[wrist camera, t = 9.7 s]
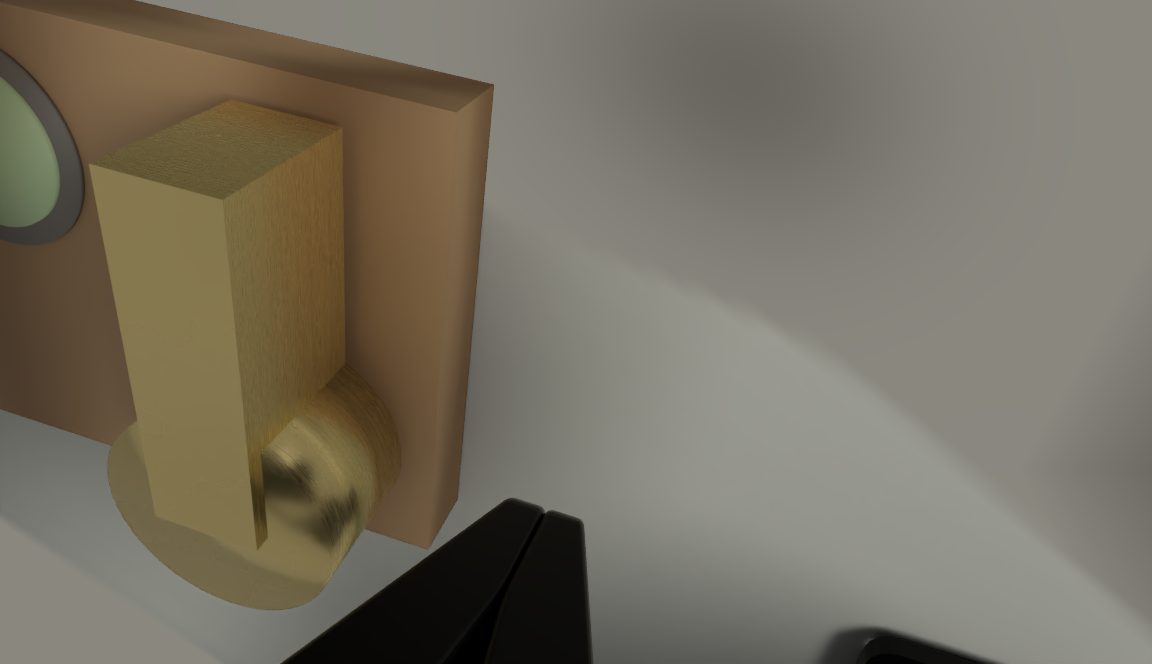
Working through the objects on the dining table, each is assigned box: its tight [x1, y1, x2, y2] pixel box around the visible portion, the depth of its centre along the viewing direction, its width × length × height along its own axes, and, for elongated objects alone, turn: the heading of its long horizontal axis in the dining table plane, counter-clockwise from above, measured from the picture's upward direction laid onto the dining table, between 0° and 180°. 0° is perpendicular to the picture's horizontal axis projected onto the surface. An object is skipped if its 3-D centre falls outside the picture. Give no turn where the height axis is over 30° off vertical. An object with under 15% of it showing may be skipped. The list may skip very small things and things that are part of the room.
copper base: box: [0, 0, 494, 550], centre depth 16 cm, size 17×9×2 cm, turn 81°
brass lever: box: [89, 99, 402, 610], centre depth 13 cm, size 8×4×3 cm, turn 171°
